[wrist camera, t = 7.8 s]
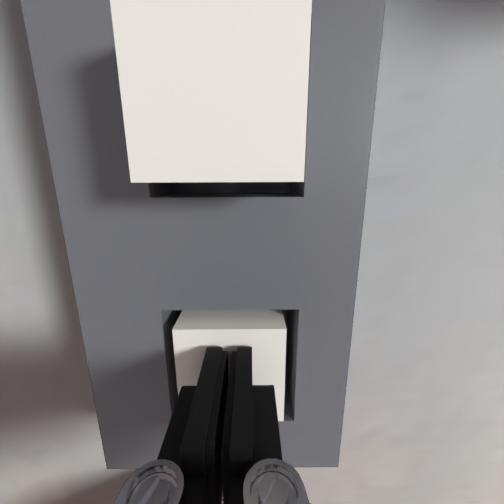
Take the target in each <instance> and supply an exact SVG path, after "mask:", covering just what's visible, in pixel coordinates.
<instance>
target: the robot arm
mask: <svg viewBox="0 0 504 504" xmlns="http://www.w3.org/2000/svg"><path fill="white" fill-rule="evenodd" d="M222 495H223V504H310V503H309V500H308V497H307V494H306V491H305V487H304V484H303V482H302V480H301V478H300V475H299V474H298V472H297V471H296V470H295V469H294V468H293V467H292V466H291V465H290V464H288V463H287V462H285V461H283V459H282V451H281V442H280V433H279V425H278V416H277V407H276V398H275V390H274V385H252V347H237V351H232V353H231V362H230V371H229V380H228V352H227V351H222V347H207V348H206V352H205V356H204V359H203V363H202V367H201V371H200V375H199V378H198V382H197V386H182V387H181V390H180V392H179V395H178V398H177V401H176V404H175V407H174V410H173V413H172V416H171V419H170V422H169V425H168V428H167V431H166V434H165V437H164V440H163V443H162V446H161V449H160V452H159V455H158V458H157V460H154V461H151V462H148V463H146V464H144V465H143V466H141V467H139V468H138V469H137V470H136V471H135V472H134V473H133V474H132V475H131V476H130V477H129V478H128V480H127V481H126V483H125V484H124V486H123V487H122V489H121V491H120V493H119V495H118V496H117V498H116V500H115V502H114V504H222Z"/></svg>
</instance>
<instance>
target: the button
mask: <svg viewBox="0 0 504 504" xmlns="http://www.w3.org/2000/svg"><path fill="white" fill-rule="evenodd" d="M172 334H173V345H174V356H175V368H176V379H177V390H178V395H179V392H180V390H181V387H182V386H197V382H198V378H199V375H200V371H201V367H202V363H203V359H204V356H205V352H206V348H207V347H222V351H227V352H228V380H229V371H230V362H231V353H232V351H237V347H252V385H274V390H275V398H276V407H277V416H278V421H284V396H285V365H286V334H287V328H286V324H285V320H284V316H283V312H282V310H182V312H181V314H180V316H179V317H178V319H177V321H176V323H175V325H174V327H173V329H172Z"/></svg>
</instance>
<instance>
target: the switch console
mask: <svg viewBox="0 0 504 504" xmlns="http://www.w3.org/2000/svg"><path fill="white" fill-rule="evenodd" d="M20 1H21V7H22V12H23V17H24V23H25V28H26V34H27V39H28V44H29V50H30V55H31V61H32V66H33V71H34V77H35V82H36V88H37V93H38V99H39V104H40V109H41V115H42V120H43V126H44V131H45V136H46V142H47V147H48V153H49V158H50V163H51V169H52V174H53V180H54V185H55V191H56V196H57V201H58V207H59V212H60V218H61V223H62V228H63V234H64V239H65V245H66V250H67V255H68V261H69V266H70V272H71V277H72V282H73V288H74V293H75V299H76V304H77V310H78V315H79V320H80V326H81V331H82V337H83V342H84V347H85V353H86V358H87V364H88V369H89V374H90V380H91V385H92V391H93V396H94V402H95V407H96V412H97V418H98V423H99V429H100V434H101V439H102V445H103V450H104V456H105V461H106V466H107V469H138V468H139V467H141V466H143V465H144V464H146V463H148V462H151V461H154V460H157V458H158V455H159V452H160V449H161V446H162V443H163V440H164V437H165V434H166V431H167V428H168V425H169V422H170V419H171V416H172V413H173V410H174V407H175V404H176V401H177V398H178V390H177V379H176V368H175V356H174V345H173V334H172V329H173V327H174V325H175V323H176V321H177V319H178V317H179V316H180V314H181V312H182V310H282V312H283V316H284V320H285V324H286V328H287V334H286V365H285V396H284V421H278V425H279V433H280V442H281V451H282V459H283V461H285V462H287V463H288V464H290V465H291V466H292V467H338V464H339V454H340V444H341V434H342V425H343V415H344V405H345V395H346V385H347V375H348V365H349V356H350V346H351V336H352V326H353V316H354V306H355V296H356V287H357V277H358V267H359V257H360V247H361V237H362V228H363V218H364V208H365V198H366V188H367V178H368V168H369V159H370V149H371V139H372V129H373V119H374V109H375V100H376V90H377V80H378V70H379V60H380V50H381V40H382V31H383V21H384V11H385V1H386V0H312V12H311V35H310V57H309V80H308V103H307V126H306V149H305V171H304V182H170V183H131V180H130V172H129V163H128V154H127V146H126V137H125V128H124V119H123V111H122V102H121V93H120V84H119V76H118V67H117V58H116V50H115V41H114V32H113V23H112V15H111V6H110V0H20Z"/></svg>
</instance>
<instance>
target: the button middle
mask: <svg viewBox="0 0 504 504" xmlns="http://www.w3.org/2000/svg"><path fill="white" fill-rule="evenodd" d="M110 6H111V15H112V23H113V32H114V41H115V50H116V58H117V67H118V76H119V84H120V93H121V102H122V111H123V119H124V128H125V137H126V146H127V154H128V163H129V172H130V180H131V183H170V182H304V171H305V149H306V126H307V103H308V80H309V57H310V35H311V12H312V0H110Z"/></svg>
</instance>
